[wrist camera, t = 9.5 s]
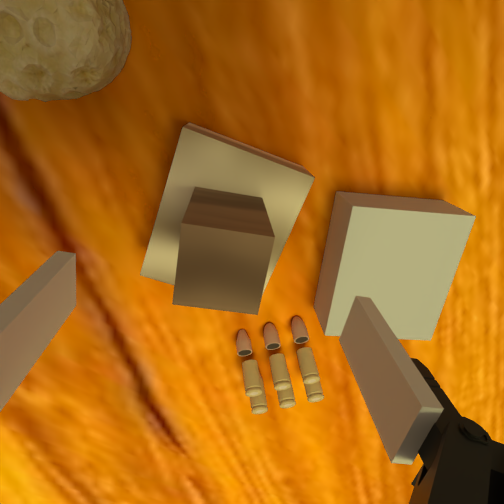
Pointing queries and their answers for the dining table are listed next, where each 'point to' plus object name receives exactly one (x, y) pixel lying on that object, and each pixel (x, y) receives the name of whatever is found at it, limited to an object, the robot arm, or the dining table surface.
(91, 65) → the coral
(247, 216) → the walnut block
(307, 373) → the ammunition
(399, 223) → the grey painted block
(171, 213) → the pale oak block
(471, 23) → the dining table surface
